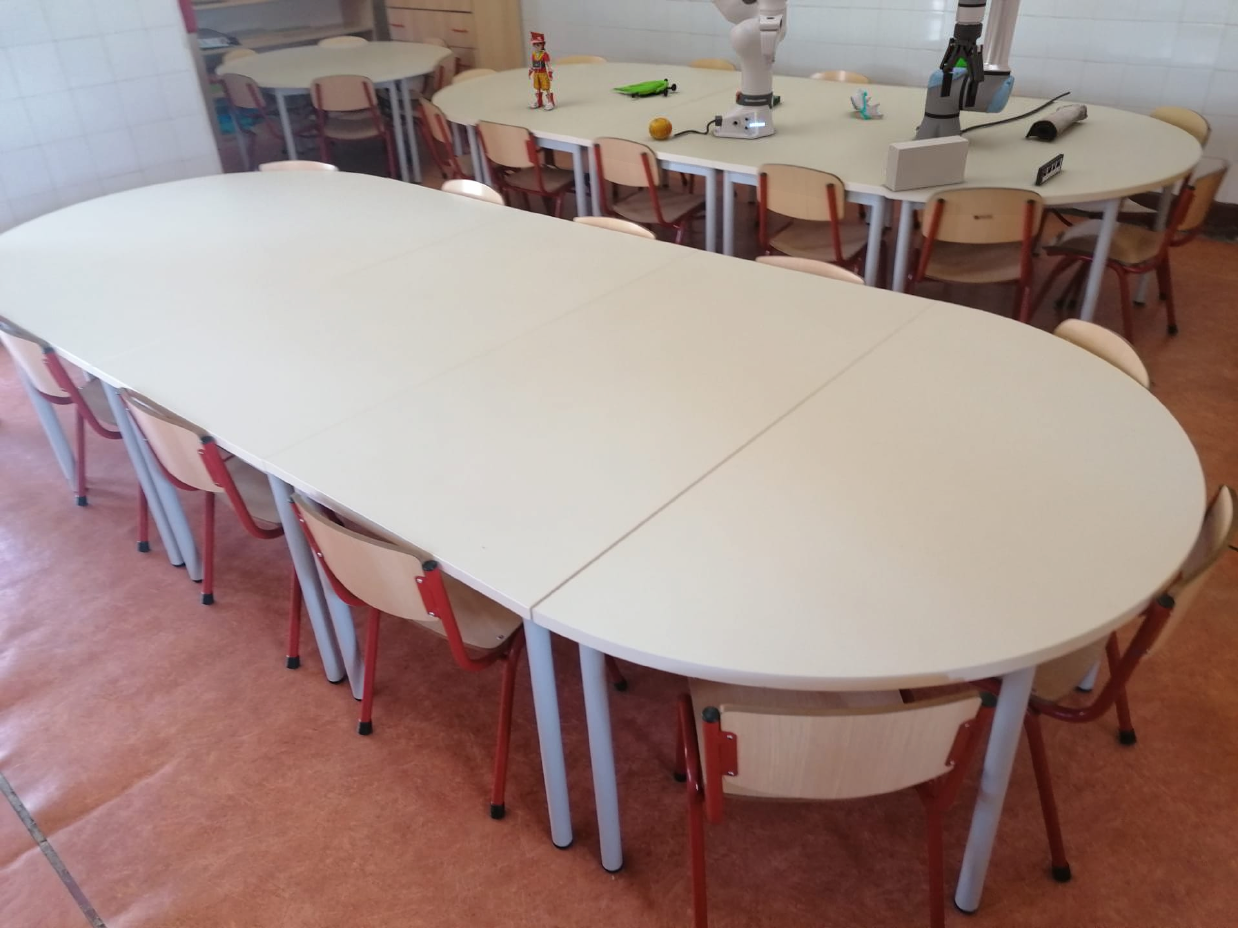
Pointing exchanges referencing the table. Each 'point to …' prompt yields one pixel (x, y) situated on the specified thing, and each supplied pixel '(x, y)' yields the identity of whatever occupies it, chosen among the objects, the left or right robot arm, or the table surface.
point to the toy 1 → (541, 71)
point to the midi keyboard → (1049, 169)
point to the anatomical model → (865, 105)
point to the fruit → (660, 128)
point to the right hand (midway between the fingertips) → (956, 102)
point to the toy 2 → (648, 88)
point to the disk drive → (776, 100)
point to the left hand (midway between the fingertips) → (770, 66)
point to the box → (926, 163)
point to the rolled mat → (1057, 122)
